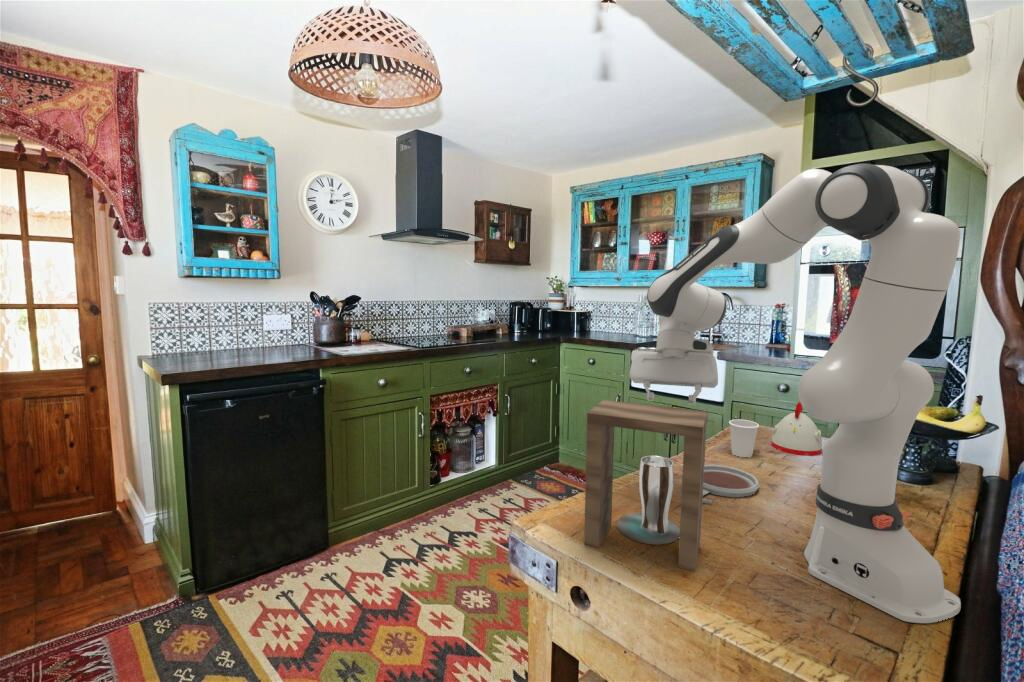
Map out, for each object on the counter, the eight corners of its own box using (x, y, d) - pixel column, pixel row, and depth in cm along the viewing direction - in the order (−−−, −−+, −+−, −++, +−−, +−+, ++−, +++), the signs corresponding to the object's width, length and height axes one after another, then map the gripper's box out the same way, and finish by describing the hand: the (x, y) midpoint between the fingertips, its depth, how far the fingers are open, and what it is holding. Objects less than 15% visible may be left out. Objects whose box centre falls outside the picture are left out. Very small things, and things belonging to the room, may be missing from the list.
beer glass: (674, 526, 103) (677, 459, 101) (667, 541, 97) (670, 469, 95) (642, 518, 106) (644, 452, 105) (633, 532, 100) (635, 463, 99)
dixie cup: (746, 461, 142) (748, 428, 141) (721, 452, 149) (723, 421, 148) (762, 456, 146) (765, 424, 145) (737, 448, 153) (739, 417, 152)
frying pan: (651, 486, 120) (709, 458, 137) (651, 497, 120) (708, 468, 138) (716, 511, 107) (771, 477, 124) (716, 523, 107) (770, 487, 125)
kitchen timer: (766, 449, 153) (770, 403, 151) (776, 438, 163) (779, 395, 162) (818, 459, 144) (822, 410, 142) (824, 447, 155) (828, 402, 153)
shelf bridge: (607, 506, 113) (611, 393, 110) (703, 525, 104) (710, 404, 101) (584, 543, 96) (587, 413, 93) (695, 571, 87) (702, 427, 84)
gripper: (630, 341, 120) (624, 394, 115) (719, 344, 111) (716, 401, 106) (634, 351, 125) (628, 402, 120) (719, 354, 117) (717, 409, 112)
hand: (670, 401), depth 113 cm, fingers open, 8 cm apart
